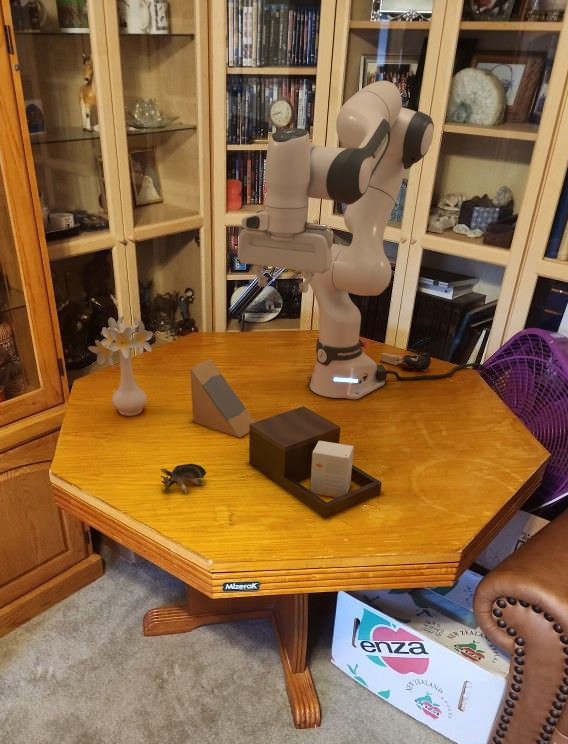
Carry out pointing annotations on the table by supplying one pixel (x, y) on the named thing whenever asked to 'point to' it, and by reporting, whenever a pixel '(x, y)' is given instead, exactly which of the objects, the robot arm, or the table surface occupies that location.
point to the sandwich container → (217, 401)
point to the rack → (302, 457)
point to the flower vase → (124, 362)
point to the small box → (331, 469)
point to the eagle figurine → (183, 475)
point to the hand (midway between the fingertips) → (282, 288)
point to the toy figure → (409, 360)
